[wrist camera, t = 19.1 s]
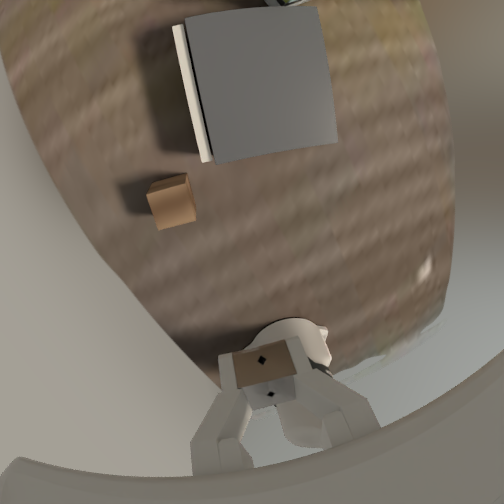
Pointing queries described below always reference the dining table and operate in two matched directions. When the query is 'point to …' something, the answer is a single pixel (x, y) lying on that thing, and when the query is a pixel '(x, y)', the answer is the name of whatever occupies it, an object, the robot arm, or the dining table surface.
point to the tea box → (284, 2)
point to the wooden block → (172, 201)
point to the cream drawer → (191, 92)
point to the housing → (262, 80)
